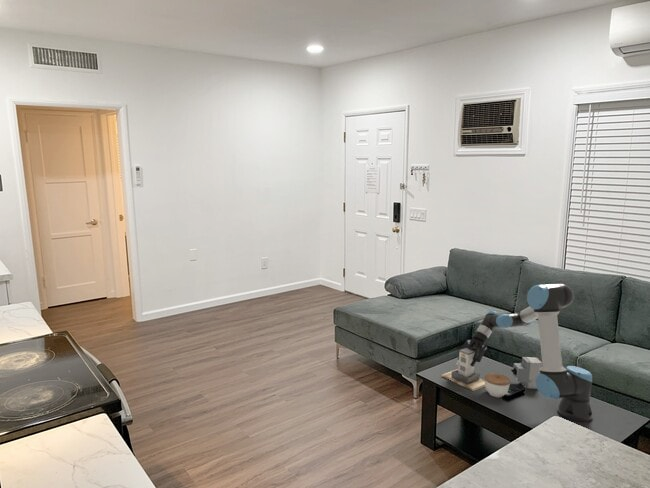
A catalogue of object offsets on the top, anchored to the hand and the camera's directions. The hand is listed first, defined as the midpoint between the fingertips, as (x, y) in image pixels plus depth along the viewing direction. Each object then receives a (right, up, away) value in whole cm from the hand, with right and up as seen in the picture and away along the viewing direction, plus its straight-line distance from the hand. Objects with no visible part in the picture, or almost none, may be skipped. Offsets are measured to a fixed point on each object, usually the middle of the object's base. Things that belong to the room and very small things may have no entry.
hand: (462, 368), depth 262 cm
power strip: (+3, -6, +3) cm, 8 cm away
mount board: (+3, -8, +3) cm, 9 cm away
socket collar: (+3, -7, +3) cm, 8 cm away
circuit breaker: (+34, -9, -1) cm, 36 cm away
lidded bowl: (+14, -11, -12) cm, 22 cm away
